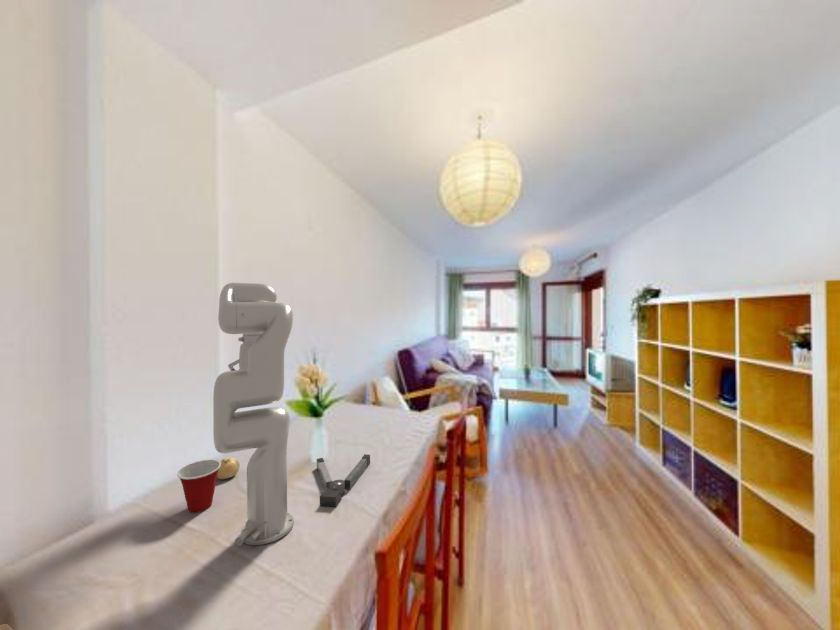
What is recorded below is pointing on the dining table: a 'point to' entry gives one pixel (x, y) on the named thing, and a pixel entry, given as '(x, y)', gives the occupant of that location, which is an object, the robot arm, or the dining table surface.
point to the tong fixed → (334, 496)
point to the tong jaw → (329, 478)
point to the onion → (228, 468)
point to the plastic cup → (199, 483)
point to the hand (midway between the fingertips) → (254, 384)
